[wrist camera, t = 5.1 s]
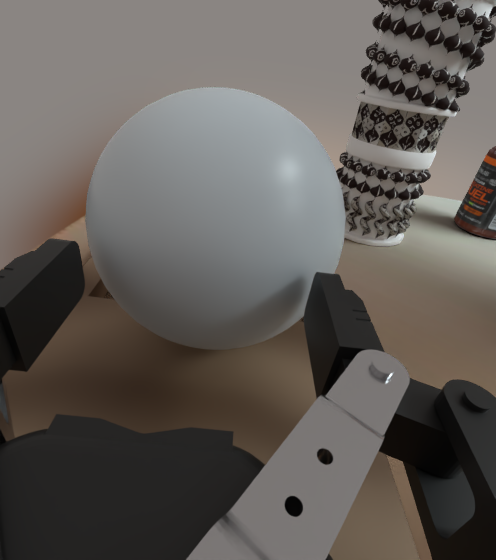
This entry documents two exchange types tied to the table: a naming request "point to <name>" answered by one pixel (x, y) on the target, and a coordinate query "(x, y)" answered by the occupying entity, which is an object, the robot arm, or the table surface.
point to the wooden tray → (195, 401)
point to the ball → (214, 217)
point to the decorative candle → (407, 109)
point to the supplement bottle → (480, 201)
